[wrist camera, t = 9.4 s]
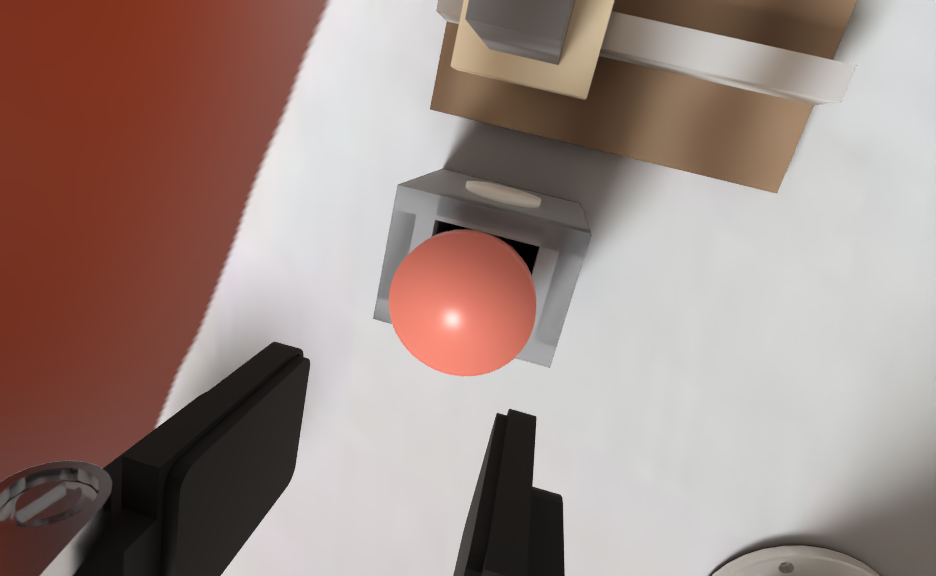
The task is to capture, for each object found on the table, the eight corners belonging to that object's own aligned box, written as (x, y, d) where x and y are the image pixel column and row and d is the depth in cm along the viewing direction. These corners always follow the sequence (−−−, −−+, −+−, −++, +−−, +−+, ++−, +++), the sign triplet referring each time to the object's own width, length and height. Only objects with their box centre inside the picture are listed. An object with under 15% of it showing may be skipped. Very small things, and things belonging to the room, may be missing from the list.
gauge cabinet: (582, 198, 29) (593, 226, 21) (550, 302, 31) (550, 367, 23) (443, 163, 30) (398, 177, 21) (421, 267, 32) (373, 318, 23)
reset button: (553, 224, 23) (553, 257, 17) (523, 329, 25) (514, 392, 19) (441, 195, 24) (403, 217, 18) (418, 301, 25) (377, 354, 19)
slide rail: (851, -22, 24) (906, -50, 21) (765, 189, 28) (799, 199, 24) (477, -100, 26) (464, -139, 22) (436, 110, 29) (418, 107, 25)
